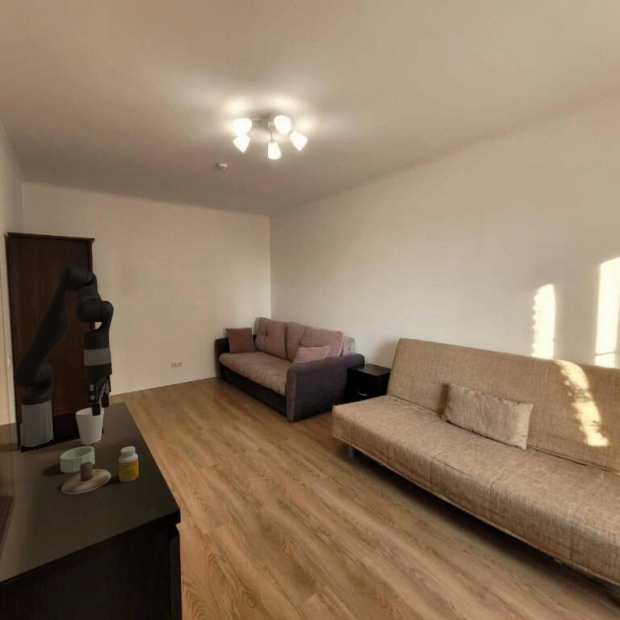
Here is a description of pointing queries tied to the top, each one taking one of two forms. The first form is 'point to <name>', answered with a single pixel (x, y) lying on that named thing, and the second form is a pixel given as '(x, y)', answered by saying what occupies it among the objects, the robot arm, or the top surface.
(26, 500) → the top surface
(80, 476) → the lid
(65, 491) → the mat
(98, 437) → the foam cup
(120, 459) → the supplement bottle
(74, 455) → the bowl
